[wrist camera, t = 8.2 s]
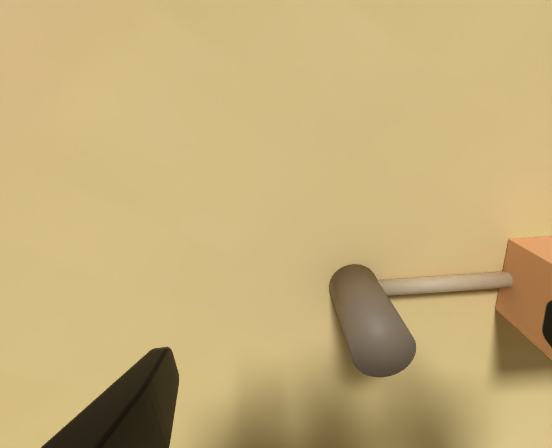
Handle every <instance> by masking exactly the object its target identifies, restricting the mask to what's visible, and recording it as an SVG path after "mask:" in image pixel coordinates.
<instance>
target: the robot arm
mask: <svg viewBox="0 0 552 448" xmlns="http://www.w3.org/2000/svg"><path fill="white" fill-rule="evenodd" d="M542 333H543V336H544V338H545V340H546V341H547V342H548V344H549V345H550V346H551V348H552V300H550V301H549V302H548V303H547V305H546V309H545V314H544V320H543V325H542ZM178 386H179V373H178V370H177V366H176V363H175V359H174V356H173V352H172V350H171V349H170V348H169V347H162V348H154V349H152V350H150V351H149V352H148V353H147V354H146V355H145V356H144V357H142V358H141V359H140V360H139V361H138V362H137V363H136V364H135V365H133V366H132V367H131V368H130V369H129V370H128V371H127V372H126V373H124V374H123V375H122V376H121V377H120V378H119V379H118V380H117V381H115V382H114V383H113V384H112V385H111V386H110V387H109V388H108V389H106V390H105V391H104V392H103V393H102V394H101V395H100V396H99V397H97V398H96V399H95V400H94V401H93V402H92V403H91V404H90V405H88V406H87V407H86V408H85V409H84V410H83V411H82V412H81V413H79V414H78V415H77V416H76V417H75V418H74V419H73V420H72V421H70V422H69V423H68V424H67V425H66V426H65V427H64V428H63V429H61V430H60V431H59V432H58V433H57V434H56V435H55V436H53V437H52V438H51V439H50V440H49V441H48V442H47V443H46V444H44V445H43V446H42V447H41V448H169V445H170V439H171V433H172V426H173V419H174V413H175V406H176V399H177V393H178Z"/></svg>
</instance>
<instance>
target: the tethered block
mask: <svg viewBox="0 0 552 448" xmlns="http://www.w3.org/2000/svg"><path fill="white" fill-rule="evenodd" d="M495 288H499V293H498V298H497V303H496V308H495V309H496V310H497V311H498V312H499V313H500V314H501V315H503V316H504V317H505V318H506V319H507V320H508V321H509V322H510V323H511V324H512V325H514V326H515V327H516V328H517V329H518V330H519V331H520V332H521V333H522V334H523V335H525V336H526V337H527V338H528V339H529V340H530V341H531V342H532V343H533V344H534V345H535V346H537V347H538V348H539V349H540V350H541V351H542V352H543V353H544V354H545V355H546V356H548V357H549V358H550V359H551V360H552V348H551V346H550V345H549V344H548V342H547V341H546V340H545V338H544V336H543V333H542V325H543V320H544V314H545V309H546V305H547V303H548V302H549V301H550V300H552V236H549V237H535V238H520V239H509V241H508V246H507V251H506V257H505V262H504V267H503V272H488V273H473V274H458V275H444V276H429V277H414V278H400V279H385V280H377V278H376V277H375V275H374V274H373V272H372V271H371V270H370V269H369V268H367V267H365V266H363V265H357V264H352V265H347V266H344V267H342V268H341V269H339V270H338V271H337V272H335V274H334V275H333V276H332V278H331V280H330V284H329V291H330V294H331V297H332V300H333V303H334V306H335V309H336V312H337V315H338V318H339V321H340V324H341V327H342V330H343V333H344V336H345V339H346V342H347V345H348V348H349V351H350V354H351V357H352V360H353V362H354V365H355V366H356V368H357V369H358V370H359V371H361V372H362V373H364V374H366V375H369V376H372V377H387V376H391V375H394V374H397V373H399V372H400V371H402V370H404V369H405V368H406V367H407V366H408V365H409V364H410V363H411V361H412V360H413V358H414V356H415V352H416V343H415V340H414V338H413V336H412V335H411V333H410V331H409V330H408V328H407V327H406V325H405V323H404V322H403V320H402V319H401V317H400V315H399V314H398V312H397V310H396V309H395V307H394V306H393V304H392V302H391V301H390V299H389V298H388V296H393V295H407V294H422V293H437V292H451V291H466V290H480V289H495Z"/></svg>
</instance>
